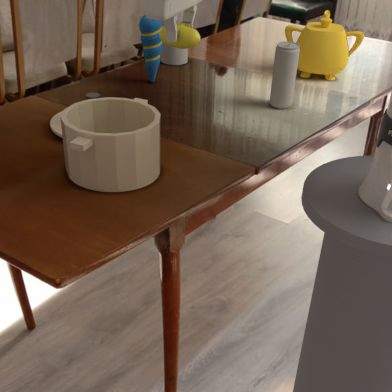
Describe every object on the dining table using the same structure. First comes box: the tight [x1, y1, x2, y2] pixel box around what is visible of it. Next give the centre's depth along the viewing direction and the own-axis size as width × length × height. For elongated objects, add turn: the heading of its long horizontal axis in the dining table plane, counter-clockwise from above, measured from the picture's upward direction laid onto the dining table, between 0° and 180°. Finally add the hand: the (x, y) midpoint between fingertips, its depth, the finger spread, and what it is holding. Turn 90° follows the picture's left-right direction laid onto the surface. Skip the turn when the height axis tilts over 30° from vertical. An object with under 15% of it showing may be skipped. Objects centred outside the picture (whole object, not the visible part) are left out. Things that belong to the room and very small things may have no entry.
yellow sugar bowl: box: [284, 9, 365, 81], centre depth 145 cm, size 14×14×12 cm
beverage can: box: [269, 40, 300, 110], centre depth 128 cm, size 5×5×12 cm
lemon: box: [159, 23, 201, 49], centre depth 108 cm, size 4×8×4 cm, turn 56°
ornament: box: [138, 14, 162, 83], centre depth 135 cm, size 5×5×15 cm
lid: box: [49, 92, 101, 139], centre depth 118 cm, size 17×17×6 cm
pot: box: [60, 96, 162, 193], centre depth 104 cm, size 16×21×9 cm
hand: (179, 37), depth 108 cm, fingers closed on lemon, 4 cm apart
